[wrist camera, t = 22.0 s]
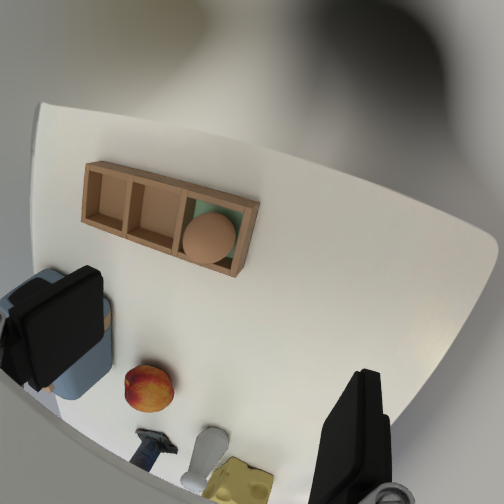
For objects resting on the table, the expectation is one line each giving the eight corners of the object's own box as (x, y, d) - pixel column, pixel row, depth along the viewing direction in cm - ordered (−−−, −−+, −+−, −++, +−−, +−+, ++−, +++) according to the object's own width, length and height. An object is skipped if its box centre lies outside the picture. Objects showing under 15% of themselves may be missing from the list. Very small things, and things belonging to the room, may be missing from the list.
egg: (202, 203, 36) (169, 219, 29) (245, 209, 35) (221, 227, 28) (200, 245, 38) (169, 269, 31) (241, 253, 37) (218, 280, 30)
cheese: (231, 455, 52) (215, 494, 43) (278, 475, 51) (267, 515, 42) (211, 470, 56) (196, 505, 47) (253, 489, 56) (242, 524, 46)
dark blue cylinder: (161, 428, 54) (134, 470, 43) (180, 451, 56) (158, 492, 45) (132, 427, 57) (105, 464, 46) (151, 449, 59) (127, 485, 48)
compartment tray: (260, 202, 35) (252, 208, 32) (243, 267, 38) (235, 278, 35) (101, 160, 38) (85, 163, 35) (96, 216, 41) (80, 222, 38)
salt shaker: (223, 446, 51) (200, 499, 39) (197, 432, 52) (170, 484, 40) (236, 434, 49) (213, 491, 37) (208, 419, 49) (180, 475, 37)
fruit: (156, 349, 46) (130, 379, 39) (190, 385, 47) (169, 418, 40) (131, 363, 49) (106, 391, 42) (162, 396, 50) (141, 426, 43)
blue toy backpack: (116, 297, 45) (46, 351, 31) (116, 369, 51) (66, 424, 37) (47, 262, 47) (-19, 298, 33) (54, 332, 54) (2, 373, 39)
